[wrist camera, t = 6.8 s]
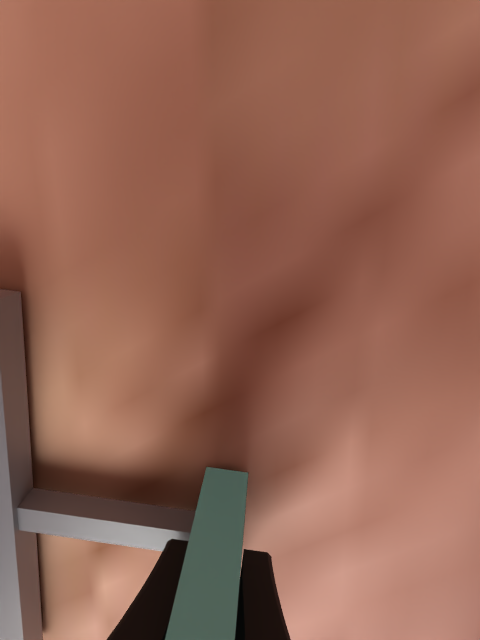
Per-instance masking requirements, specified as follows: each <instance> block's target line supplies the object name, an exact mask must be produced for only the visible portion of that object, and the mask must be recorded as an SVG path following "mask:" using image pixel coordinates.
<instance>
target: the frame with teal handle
mask: <svg viewBox="0 0 480 640" xmlns="http://www.w3.org/2000/svg"><path fill="white" fill-rule="evenodd" d="M247 484H248V473H247V472H240V471H233V470H226V469H218V468H211V467H206V471H205V475H204V479H203V483H202V487H201V492H200V496H199V500H198V504H197V508H196V511H191V510H184V509H177V508H170V507H163V506H156V505H149V504H142V503H135V502H128V501H121V500H114V499H107V498H100V497H93V496H86V495H79V494H72V493H65V492H58V491H51V490H44V489H37V488H33V476H32V460H31V445H30V429H29V413H28V398H27V382H26V366H25V351H24V335H23V319H22V304H21V292H20V291H12V290H4V289H0V640H43V633H42V617H41V601H40V586H39V570H38V554H37V539H36V533H42V534H48V535H55V536H62V537H69V538H75V539H82V540H89V541H96V542H103V543H109V544H116V545H123V546H130V547H136V548H143V549H150V550H157V551H163V550H164V548H165V545H166V543H167V541H169V540H171V539H177V540H184V541H189V542H188V546H187V550H186V554H185V558H184V563H183V567H182V571H181V575H180V579H179V584H178V588H177V592H176V596H175V600H174V604H173V609H172V613H171V617H170V621H169V625H168V629H167V634H166V638H165V640H235V631H236V619H237V607H238V594H239V582H240V570H241V557H242V545H243V533H244V521H245V508H246V496H247Z"/></svg>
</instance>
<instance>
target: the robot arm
mask: <svg viewBox="0 0 480 640" xmlns="http://www.w3.org/2000/svg"><path fill="white" fill-rule="evenodd" d="M188 542H189V541H184V540H177V539H171V540H169V541H167V543H166V545H165V548H164V550H163V552H162V554H161V556H160V557H159V559H158V561H157V563H156V565H155V567H154V568H153V570H152V572H151V574H150V575H149V577H148V579H147V580H146V582H145V584H144V585H143V587H142V588H141V590H140V592H139V593H138V595H137V596H136V598H135V599H134V601H133V602H132V604H131V605H130V607H129V608H128V610H127V611H126V613H125V614H124V616H123V618H122V619H121V620H120V622H119V623H118V625H117V626H116V628H115V629H114V630H113V632H112V633H111V634H110V636H109V637H108V639H107V640H165V638H166V634H167V629H168V625H169V621H170V617H171V613H172V609H173V604H174V600H175V596H176V592H177V588H178V584H179V579H180V575H181V571H182V567H183V563H184V558H185V554H186V550H187V546H188ZM235 640H291V639H290V636H289V633H288V630H287V626H286V623H285V619H284V616H283V612H282V609H281V605H280V601H279V597H278V593H277V588H276V584H275V579H274V573H273V567H272V560H271V556H270V555H269V554H268V553H267V552H260V551H253V550H246V549H244V553H243V560H242V568H241V575H240V582H239V594H238V607H237V619H236V631H235Z"/></svg>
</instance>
